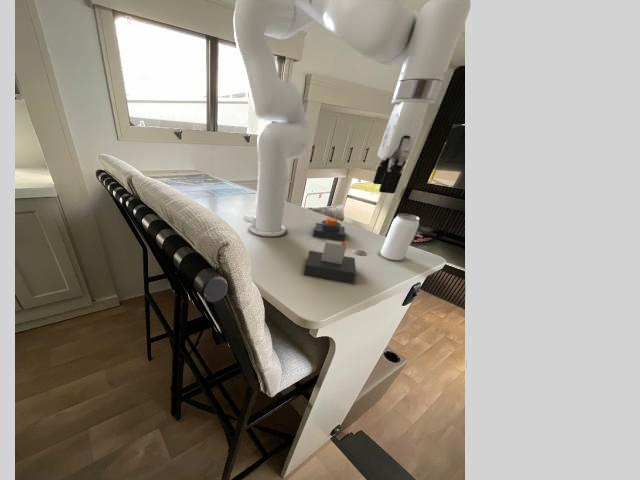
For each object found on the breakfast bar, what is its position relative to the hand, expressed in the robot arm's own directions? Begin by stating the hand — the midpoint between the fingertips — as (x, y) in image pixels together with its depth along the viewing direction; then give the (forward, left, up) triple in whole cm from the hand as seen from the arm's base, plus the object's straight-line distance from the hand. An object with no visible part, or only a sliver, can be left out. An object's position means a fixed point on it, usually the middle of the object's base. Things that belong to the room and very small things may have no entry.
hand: (382, 188), depth 59 cm
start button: (-8, +21, -17) cm, 28 cm away
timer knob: (-7, -7, -17) cm, 20 cm away
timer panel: (-7, -7, -20) cm, 23 cm away
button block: (-8, +21, -20) cm, 30 cm away
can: (+11, +10, -20) cm, 25 cm away
